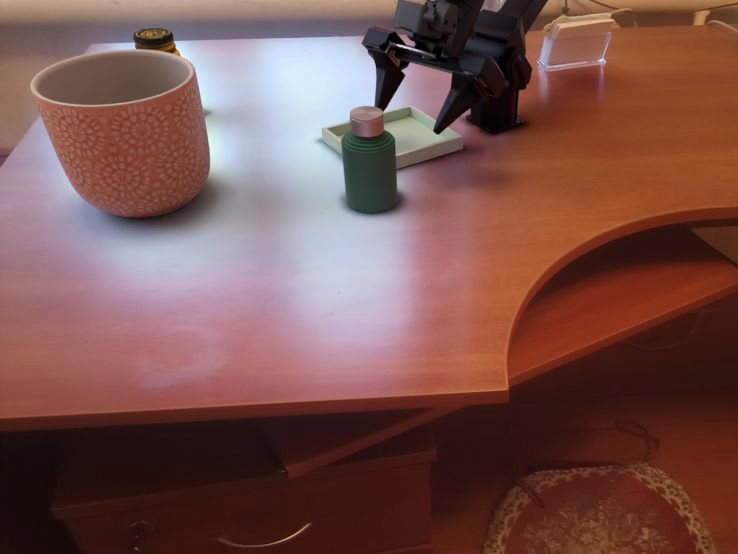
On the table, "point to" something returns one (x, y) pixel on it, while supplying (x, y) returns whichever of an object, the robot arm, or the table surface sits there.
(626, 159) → the table surface
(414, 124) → the tray
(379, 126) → the cap
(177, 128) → the planter
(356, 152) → the bottle
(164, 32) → the condiment
